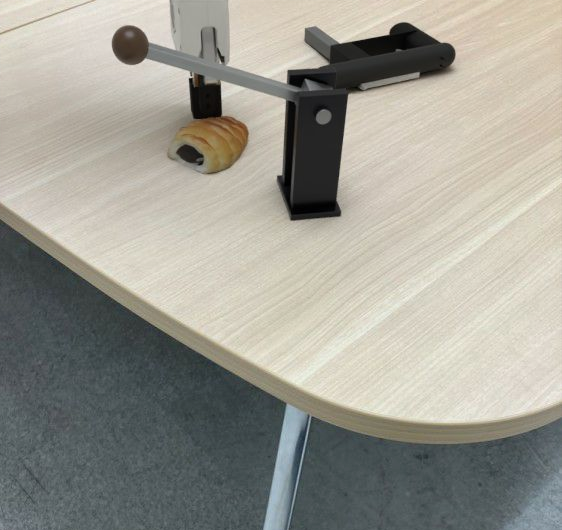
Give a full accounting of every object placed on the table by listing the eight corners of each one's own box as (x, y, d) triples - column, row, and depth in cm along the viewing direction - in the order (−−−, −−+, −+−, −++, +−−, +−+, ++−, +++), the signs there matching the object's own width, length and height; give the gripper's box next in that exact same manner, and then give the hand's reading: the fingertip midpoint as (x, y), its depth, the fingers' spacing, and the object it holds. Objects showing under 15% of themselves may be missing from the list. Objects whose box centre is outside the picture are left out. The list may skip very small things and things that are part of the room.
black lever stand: (290, 226, 76) (298, 102, 67) (276, 185, 81) (281, 64, 71) (340, 221, 77) (355, 99, 68) (323, 181, 82) (334, 61, 72)
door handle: (264, 28, 100) (325, 77, 90) (396, 6, 107) (467, 48, 97) (264, 54, 103) (324, 105, 92) (393, 31, 109) (462, 75, 99)
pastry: (213, 125, 88) (212, 93, 85) (264, 144, 86) (265, 112, 83) (163, 163, 83) (160, 130, 80) (216, 184, 80) (216, 151, 78)
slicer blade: (108, 65, 63) (117, 30, 61) (106, 49, 65) (115, 14, 63) (326, 127, 71) (340, 97, 69) (319, 110, 73) (332, 81, 71)
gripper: (146, -93, 77) (164, 85, 91) (165, -35, 67) (181, 155, 81) (222, -97, 78) (228, 79, 92) (251, -40, 68) (253, 147, 82)
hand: (206, 114), depth 86 cm, fingers closed
